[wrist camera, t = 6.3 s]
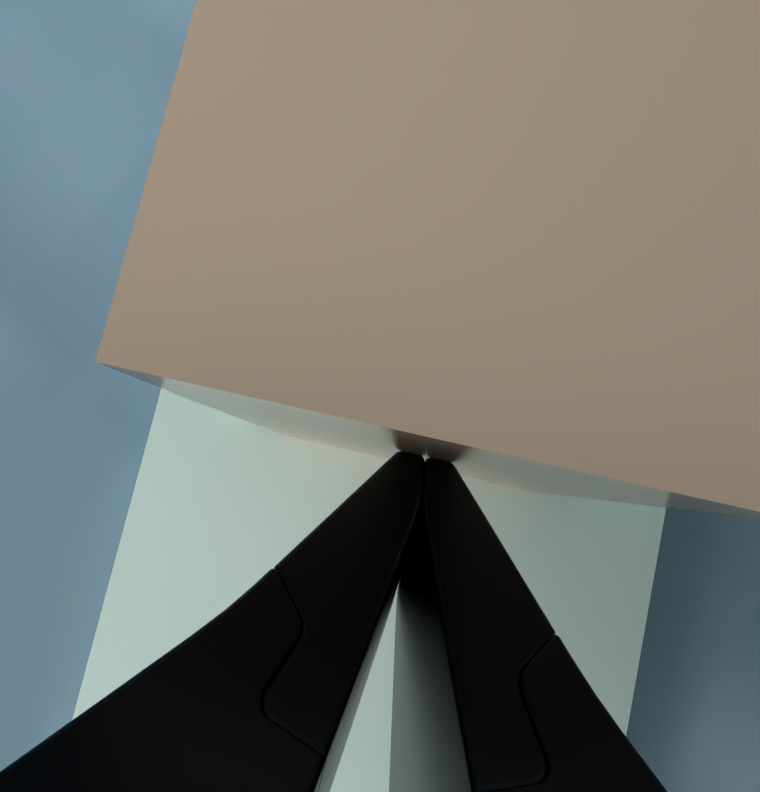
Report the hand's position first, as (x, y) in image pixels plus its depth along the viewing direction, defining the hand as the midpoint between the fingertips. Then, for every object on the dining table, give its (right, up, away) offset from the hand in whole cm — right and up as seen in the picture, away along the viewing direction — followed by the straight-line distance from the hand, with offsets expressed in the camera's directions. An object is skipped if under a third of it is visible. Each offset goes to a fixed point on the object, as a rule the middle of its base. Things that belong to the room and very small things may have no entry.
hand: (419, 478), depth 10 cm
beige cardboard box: (+1, +2, +6) cm, 6 cm away
